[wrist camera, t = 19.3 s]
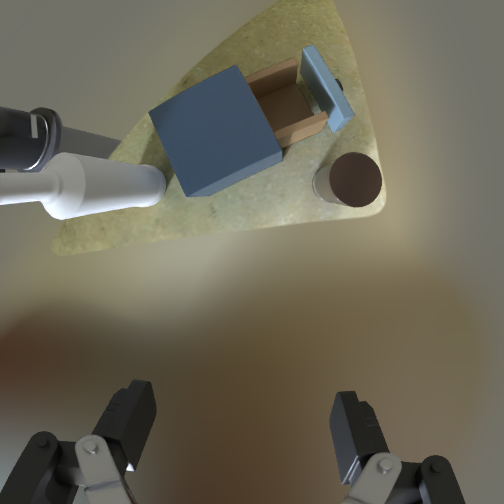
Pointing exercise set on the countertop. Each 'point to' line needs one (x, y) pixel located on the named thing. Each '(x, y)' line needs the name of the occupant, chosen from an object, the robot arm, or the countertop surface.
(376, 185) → the pepper mill
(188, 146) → the cabinet
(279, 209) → the countertop surface
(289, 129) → the drawer
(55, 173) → the bottle
